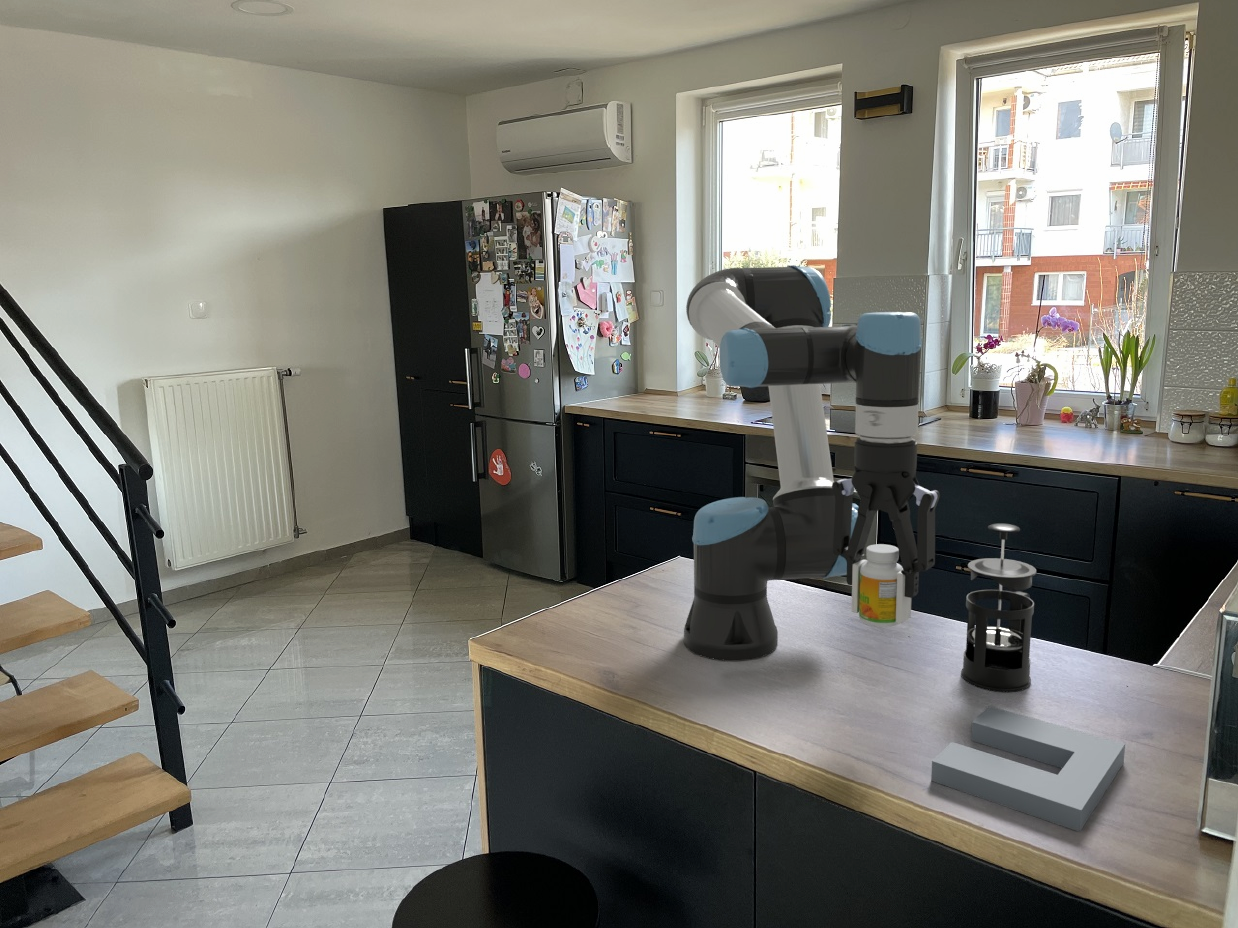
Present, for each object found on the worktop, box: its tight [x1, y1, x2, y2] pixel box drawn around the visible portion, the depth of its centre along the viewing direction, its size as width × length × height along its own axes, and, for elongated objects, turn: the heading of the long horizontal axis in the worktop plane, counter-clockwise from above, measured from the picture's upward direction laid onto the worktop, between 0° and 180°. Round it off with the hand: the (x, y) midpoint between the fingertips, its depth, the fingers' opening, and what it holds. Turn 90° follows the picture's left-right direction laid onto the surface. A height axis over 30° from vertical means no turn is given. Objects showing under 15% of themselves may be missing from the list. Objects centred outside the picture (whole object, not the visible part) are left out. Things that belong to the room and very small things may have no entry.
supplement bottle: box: [858, 543, 903, 628], centre depth 117 cm, size 5×5×10 cm
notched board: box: [930, 705, 1126, 832], centre depth 107 cm, size 16×18×2 cm
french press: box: [960, 523, 1037, 693], centre depth 130 cm, size 12×9×23 cm
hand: (880, 614), depth 118 cm, fingers closed on supplement bottle, 5 cm apart
